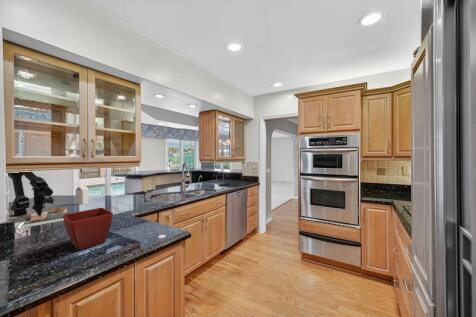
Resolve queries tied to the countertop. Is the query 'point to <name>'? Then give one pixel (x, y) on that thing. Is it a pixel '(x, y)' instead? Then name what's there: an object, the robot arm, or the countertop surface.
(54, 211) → the walnut tile
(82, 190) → the milk carton
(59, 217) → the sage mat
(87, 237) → the plant pot
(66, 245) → the countertop surface
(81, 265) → the countertop surface
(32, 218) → the terracotta tile
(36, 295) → the countertop surface
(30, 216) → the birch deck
